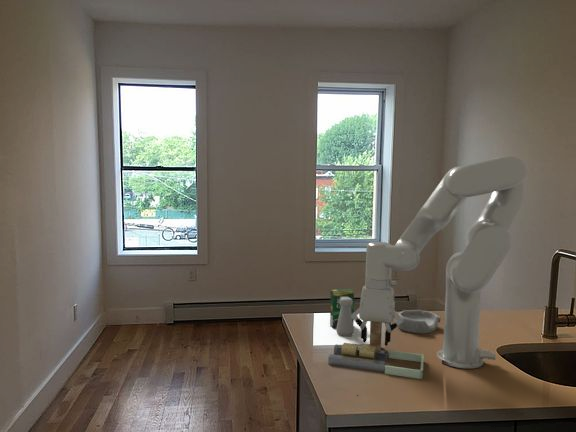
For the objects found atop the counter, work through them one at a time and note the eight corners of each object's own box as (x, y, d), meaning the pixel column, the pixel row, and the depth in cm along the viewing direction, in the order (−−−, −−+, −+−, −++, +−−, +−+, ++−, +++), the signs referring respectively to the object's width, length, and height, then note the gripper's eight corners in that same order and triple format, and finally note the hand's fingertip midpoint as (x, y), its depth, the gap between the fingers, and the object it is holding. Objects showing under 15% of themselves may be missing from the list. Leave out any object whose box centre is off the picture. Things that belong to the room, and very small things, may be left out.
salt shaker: (353, 340, 151) (354, 300, 150) (335, 338, 152) (336, 299, 151) (354, 334, 157) (355, 296, 155) (337, 333, 158) (338, 295, 157)
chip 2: (375, 360, 133) (375, 346, 132) (373, 365, 129) (374, 351, 128) (361, 358, 134) (361, 344, 133) (358, 363, 130) (359, 349, 130)
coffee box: (331, 328, 162) (332, 291, 161) (329, 325, 165) (330, 289, 164) (353, 327, 164) (355, 290, 163) (350, 324, 167) (352, 288, 166)
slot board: (386, 361, 135) (387, 351, 134) (383, 375, 125) (383, 364, 125) (335, 354, 139) (335, 344, 139) (328, 367, 130) (328, 356, 129)
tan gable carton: (381, 350, 143) (382, 318, 142) (379, 355, 139) (380, 322, 138) (371, 348, 144) (372, 317, 143) (369, 354, 140) (370, 321, 139)
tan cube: (357, 357, 134) (358, 344, 134) (355, 363, 130) (355, 349, 130) (343, 356, 135) (344, 342, 135) (341, 361, 131) (341, 347, 131)
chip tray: (423, 364, 133) (423, 354, 133) (422, 382, 121) (422, 371, 121) (388, 360, 136) (389, 350, 135) (384, 377, 124) (385, 366, 124)
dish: (442, 327, 167) (443, 313, 167) (431, 338, 155) (432, 323, 155) (402, 319, 175) (403, 306, 174) (389, 329, 163) (389, 315, 163)
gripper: (408, 283, 141) (405, 342, 142) (351, 278, 146) (349, 335, 147) (407, 289, 134) (404, 350, 135) (346, 283, 139) (344, 343, 140)
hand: (375, 342), depth 141 cm, fingers open, 5 cm apart
